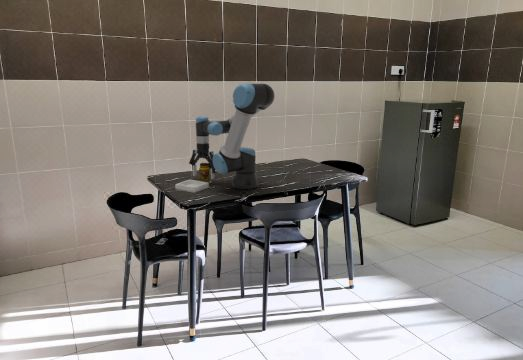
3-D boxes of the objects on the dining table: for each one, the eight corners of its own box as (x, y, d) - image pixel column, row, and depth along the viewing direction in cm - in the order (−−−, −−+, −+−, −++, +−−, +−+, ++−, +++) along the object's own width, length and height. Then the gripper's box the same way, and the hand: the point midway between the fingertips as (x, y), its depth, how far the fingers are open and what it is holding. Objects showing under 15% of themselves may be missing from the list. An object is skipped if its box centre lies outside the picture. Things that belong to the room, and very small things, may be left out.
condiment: (205, 184, 238) (204, 165, 235) (194, 182, 242) (194, 163, 239) (213, 182, 244) (212, 163, 241) (202, 180, 248) (202, 161, 245)
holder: (208, 187, 231) (208, 182, 230) (194, 192, 220) (194, 187, 219) (189, 184, 238) (189, 179, 237) (175, 189, 227) (175, 184, 226)
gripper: (223, 143, 234) (224, 178, 240) (190, 140, 246) (191, 173, 251) (216, 145, 228) (216, 181, 233) (182, 141, 240) (183, 175, 245)
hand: (203, 177), depth 242 cm, fingers open, 13 cm apart
